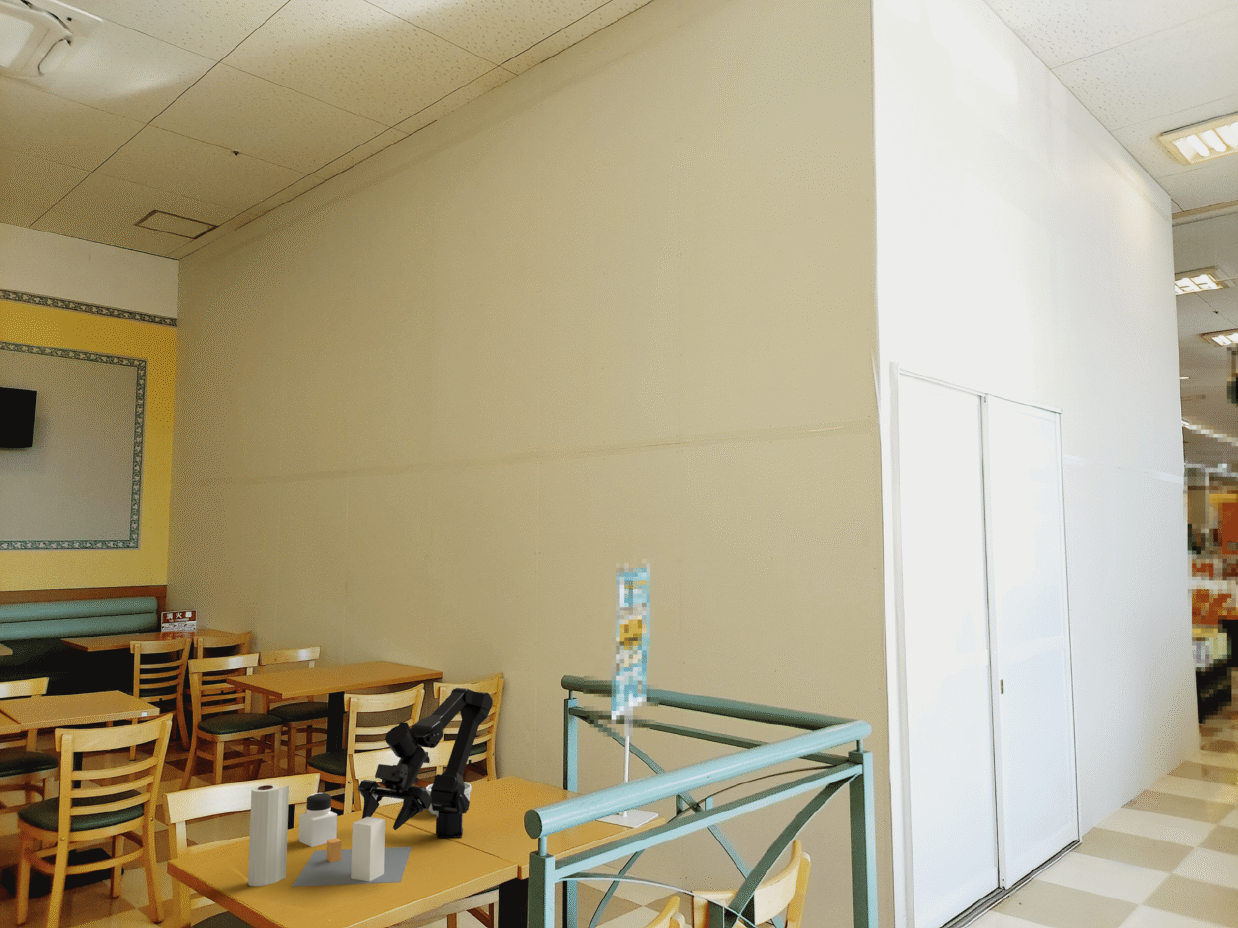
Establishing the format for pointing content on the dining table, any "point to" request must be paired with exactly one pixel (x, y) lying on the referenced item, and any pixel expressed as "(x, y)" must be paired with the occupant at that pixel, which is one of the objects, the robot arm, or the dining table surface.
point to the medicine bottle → (317, 821)
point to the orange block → (333, 850)
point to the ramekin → (466, 792)
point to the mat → (350, 868)
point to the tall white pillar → (368, 848)
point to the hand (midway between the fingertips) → (378, 826)
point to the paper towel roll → (268, 834)
